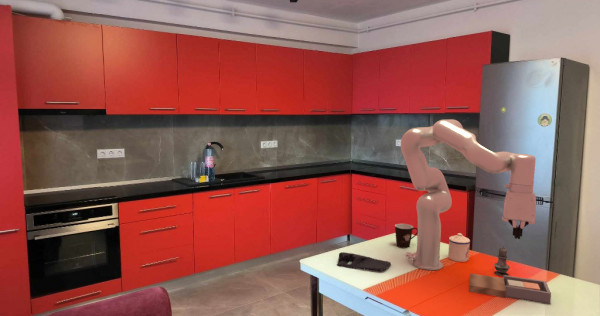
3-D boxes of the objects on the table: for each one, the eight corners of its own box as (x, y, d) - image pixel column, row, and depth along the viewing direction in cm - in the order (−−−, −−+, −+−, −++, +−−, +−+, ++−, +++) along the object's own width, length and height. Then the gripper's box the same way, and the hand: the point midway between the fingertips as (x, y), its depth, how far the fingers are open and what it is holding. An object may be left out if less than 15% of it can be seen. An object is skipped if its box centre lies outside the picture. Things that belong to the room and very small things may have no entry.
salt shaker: (511, 277, 165) (513, 248, 164) (495, 276, 166) (497, 247, 165) (506, 271, 171) (508, 244, 170) (491, 270, 172) (493, 243, 171)
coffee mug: (394, 248, 198) (395, 228, 197) (393, 242, 207) (394, 223, 206) (419, 249, 197) (420, 229, 195) (417, 243, 205) (418, 224, 204)
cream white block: (508, 292, 150) (509, 284, 150) (506, 287, 155) (507, 279, 155) (523, 294, 149) (524, 287, 148) (521, 289, 153) (522, 281, 153)
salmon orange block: (524, 295, 149) (524, 287, 148) (521, 289, 153) (522, 281, 153) (539, 297, 147) (540, 289, 147) (536, 291, 152) (537, 283, 151)
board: (469, 291, 152) (470, 285, 152) (469, 279, 163) (470, 273, 163) (505, 297, 148) (506, 291, 147) (503, 284, 159) (503, 278, 158)
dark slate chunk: (382, 277, 166) (382, 265, 166) (333, 266, 177) (333, 255, 176) (393, 264, 179) (394, 254, 179) (347, 255, 190) (347, 245, 190)
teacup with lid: (470, 263, 180) (472, 237, 179) (448, 261, 182) (450, 235, 181) (466, 253, 192) (468, 229, 190) (446, 251, 194) (447, 228, 193)
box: (505, 297, 148) (506, 286, 148) (503, 285, 158) (503, 275, 158) (550, 304, 143) (551, 293, 142) (544, 291, 153) (545, 281, 152)
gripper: (498, 188, 147) (494, 238, 149) (546, 192, 141) (542, 243, 143) (497, 184, 153) (493, 232, 156) (543, 188, 148) (538, 237, 150)
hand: (517, 237), depth 150 cm, fingers closed
